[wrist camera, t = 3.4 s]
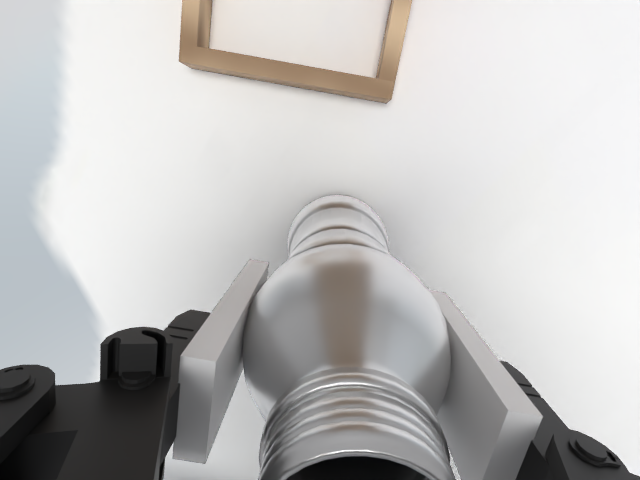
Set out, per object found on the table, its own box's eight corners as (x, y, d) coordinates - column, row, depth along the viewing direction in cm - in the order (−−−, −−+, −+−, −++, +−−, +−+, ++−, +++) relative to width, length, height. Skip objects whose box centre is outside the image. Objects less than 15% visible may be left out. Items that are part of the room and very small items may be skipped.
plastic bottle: (311, 292, 26) (257, 703, 7) (277, 207, 25) (84, 428, 5) (394, 264, 25) (598, 638, 6) (365, 175, 24) (516, 298, 5)
